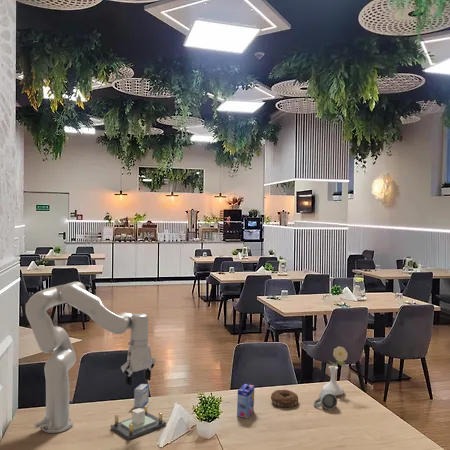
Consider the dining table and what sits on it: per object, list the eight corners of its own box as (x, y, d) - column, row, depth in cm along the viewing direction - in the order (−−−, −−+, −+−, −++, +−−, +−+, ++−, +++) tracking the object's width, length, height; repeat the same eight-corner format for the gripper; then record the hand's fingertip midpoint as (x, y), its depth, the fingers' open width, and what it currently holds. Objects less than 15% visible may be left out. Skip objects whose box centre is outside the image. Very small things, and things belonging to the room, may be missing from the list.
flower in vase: (322, 396, 226) (322, 348, 226) (321, 388, 237) (321, 342, 238) (348, 398, 224) (348, 349, 224) (346, 390, 235) (346, 343, 235)
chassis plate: (128, 440, 179) (128, 426, 179) (110, 428, 189) (110, 416, 189) (166, 425, 192) (166, 413, 192) (147, 415, 202) (147, 403, 202)
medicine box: (142, 407, 211) (142, 389, 211) (133, 407, 212) (134, 389, 212) (148, 401, 219) (148, 384, 219) (140, 400, 220) (140, 383, 220)
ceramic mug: (333, 403, 218) (332, 387, 218) (337, 409, 210) (337, 393, 210) (311, 403, 218) (311, 387, 218) (315, 410, 210) (315, 394, 210)
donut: (271, 397, 226) (271, 387, 226) (297, 398, 224) (297, 388, 224) (270, 408, 212) (270, 398, 212) (298, 410, 210) (298, 399, 210)
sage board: (132, 431, 183) (132, 417, 183) (120, 424, 189) (120, 411, 189) (155, 422, 192) (155, 409, 192) (144, 416, 198) (144, 403, 198)
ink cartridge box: (247, 418, 200) (248, 387, 200) (236, 416, 202) (236, 385, 202) (254, 410, 209) (254, 380, 209) (243, 408, 211) (244, 378, 211)
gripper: (126, 348, 182) (126, 389, 182) (160, 341, 194) (159, 379, 194) (117, 344, 187) (116, 384, 187) (150, 337, 199) (149, 375, 199)
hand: (138, 382), depth 191 cm, fingers open, 9 cm apart
